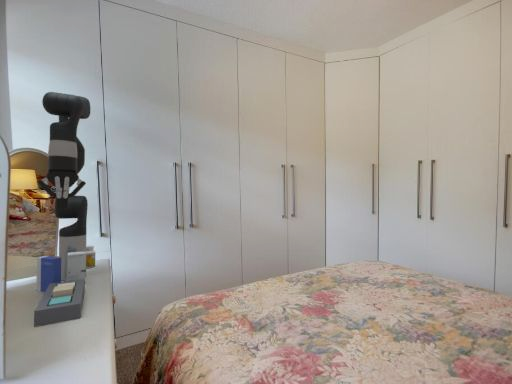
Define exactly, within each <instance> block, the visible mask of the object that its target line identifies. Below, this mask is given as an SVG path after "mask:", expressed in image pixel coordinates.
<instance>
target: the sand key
mask: <svg viewBox="0 0 512 384" xmlns="http://www.w3.org/2000/svg"><path fill="white" fill-rule="evenodd" d="M70 294H74V284H71V285H64V286H56V287H55V288H54V290H53V297H57V296H64V295H70Z"/></svg>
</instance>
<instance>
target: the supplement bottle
mask: <svg viewBox="0 0 512 384" xmlns="http://www.w3.org/2000/svg"><path fill="white" fill-rule="evenodd" d="M94 248H95V246H94V245H92V244H90V245H86V270H87V269H92V268H94V267H96V250H95V249H94Z"/></svg>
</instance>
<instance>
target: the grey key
mask: <svg viewBox="0 0 512 384" xmlns="http://www.w3.org/2000/svg"><path fill="white" fill-rule="evenodd" d="M71 284H74V287H75V282H72V283H65V284H58V286H64V285H71Z"/></svg>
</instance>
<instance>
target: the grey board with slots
mask: <svg viewBox="0 0 512 384" xmlns="http://www.w3.org/2000/svg"><path fill="white" fill-rule="evenodd" d="M72 282H75V287H74V294H70V295H64V296H57V297H53V290H54V288H55V287H56V286H58V284H65V283H72ZM85 287H86V278H85V279H82V280H74V281H61V282H59V283H51V284H49V286H48V287H47V289H46V291H45V292H44V293H43V294H42V297H41V298H40V300H39V302H38V303H37V305H36V307H35V309H34V311H33V312H34V314H33V317H34V318H33V327H40V326H45V325H50V324H56V323H60V322H66V321H71V320H76V319H77V320H78V319H81V316H82V308H83V303H84V298H85V291H86V289H85ZM66 296H72V301H71V302H70V303H64V304H58V305H51V306H49V303H50V301H51V299H53V298H59V297H66Z"/></svg>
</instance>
